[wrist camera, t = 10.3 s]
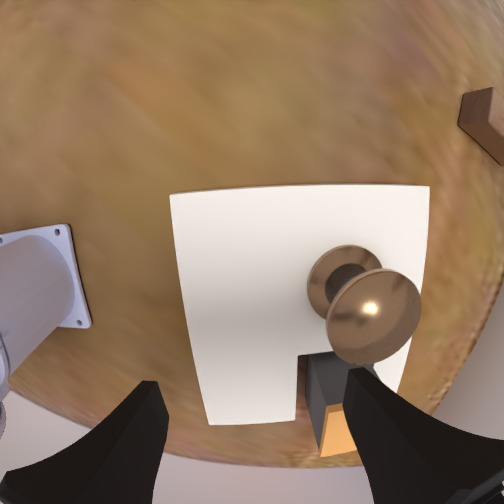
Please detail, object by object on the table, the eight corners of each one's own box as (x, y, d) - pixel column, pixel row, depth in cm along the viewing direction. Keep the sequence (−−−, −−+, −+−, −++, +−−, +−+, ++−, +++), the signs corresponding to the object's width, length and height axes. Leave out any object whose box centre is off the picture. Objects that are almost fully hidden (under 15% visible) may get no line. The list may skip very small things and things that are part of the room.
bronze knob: (305, 323, 18) (325, 372, 13) (306, 247, 16) (331, 277, 12) (376, 314, 18) (411, 355, 13) (383, 242, 16) (428, 267, 12)
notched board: (210, 412, 22) (209, 424, 20) (175, 193, 17) (169, 195, 15) (387, 390, 22) (393, 400, 20) (417, 185, 17) (429, 186, 16)
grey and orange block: (305, 396, 22) (320, 457, 15) (307, 349, 20) (328, 412, 14) (350, 389, 22) (374, 445, 15) (357, 342, 20) (391, 399, 14)
